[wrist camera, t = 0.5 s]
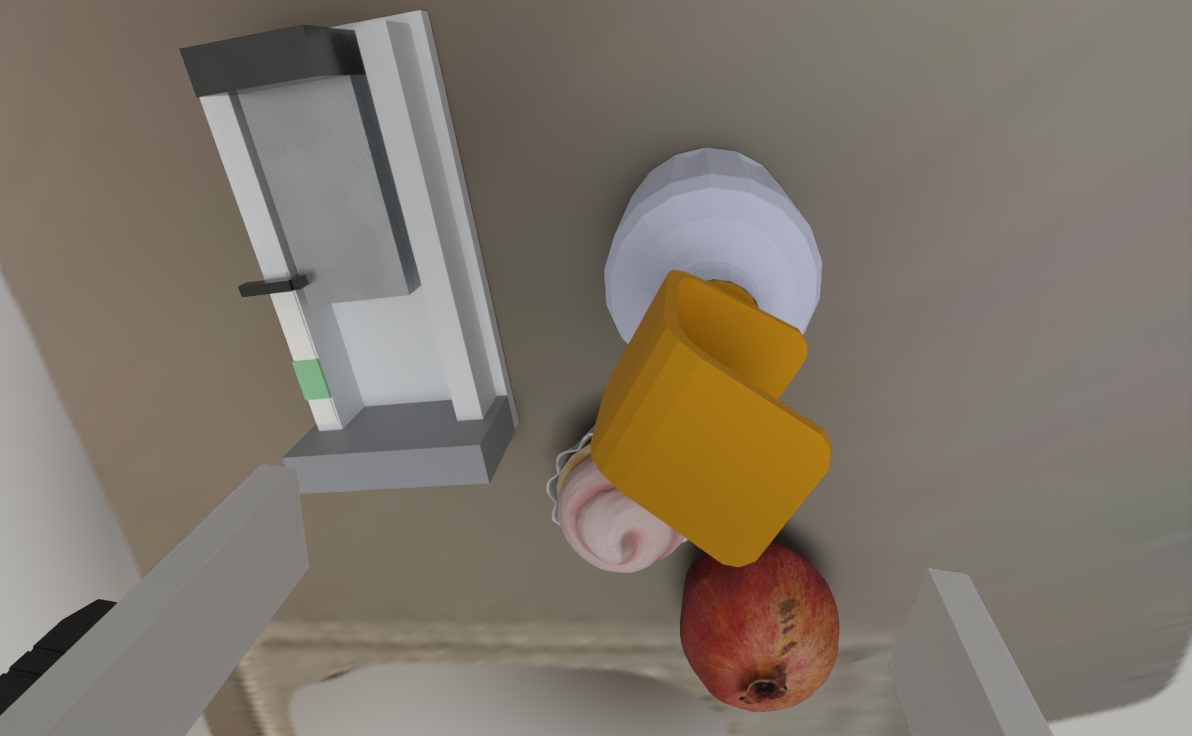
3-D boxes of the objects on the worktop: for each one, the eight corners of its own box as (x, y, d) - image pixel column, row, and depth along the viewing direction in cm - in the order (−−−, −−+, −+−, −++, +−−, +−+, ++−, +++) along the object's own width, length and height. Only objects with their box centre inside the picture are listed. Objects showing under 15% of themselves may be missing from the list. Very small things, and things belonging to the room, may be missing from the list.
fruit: (707, 490, 44) (711, 601, 35) (850, 536, 44) (892, 658, 35) (656, 604, 48) (648, 728, 39) (786, 645, 48) (808, 779, 39)
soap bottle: (735, 335, 39) (795, 692, 17) (597, 264, 38) (469, 540, 16) (823, 197, 35) (1051, 423, 13) (671, 116, 34) (638, 208, 12)
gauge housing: (220, 50, 36) (121, 47, 30) (427, 11, 34) (367, -1, 28) (350, 434, 45) (295, 494, 39) (518, 422, 43) (489, 483, 37)
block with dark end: (208, 60, 35) (120, 60, 30) (365, 31, 33) (302, 24, 28) (289, 294, 40) (227, 330, 35) (428, 278, 39) (386, 313, 33)
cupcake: (691, 523, 45) (692, 637, 36) (556, 503, 46) (523, 610, 37) (713, 401, 41) (720, 496, 32) (564, 381, 42) (530, 469, 33)
